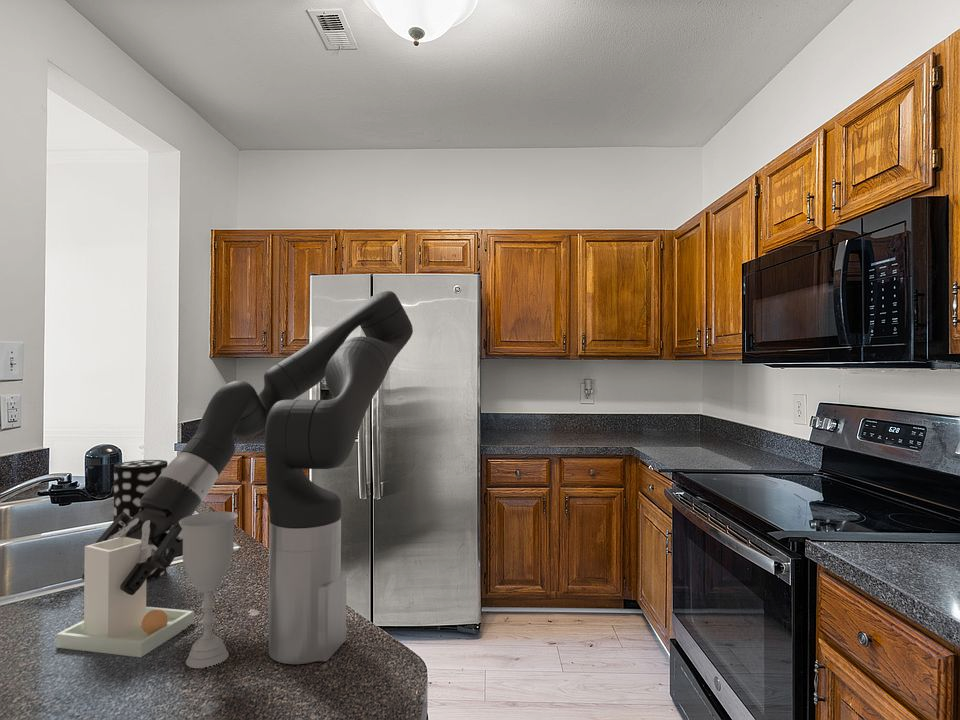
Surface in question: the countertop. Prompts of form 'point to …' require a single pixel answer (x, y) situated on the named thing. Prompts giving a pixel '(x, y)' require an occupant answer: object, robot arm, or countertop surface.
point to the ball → (154, 621)
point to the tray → (126, 636)
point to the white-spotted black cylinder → (135, 490)
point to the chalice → (207, 574)
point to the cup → (112, 588)
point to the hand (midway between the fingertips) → (105, 587)
